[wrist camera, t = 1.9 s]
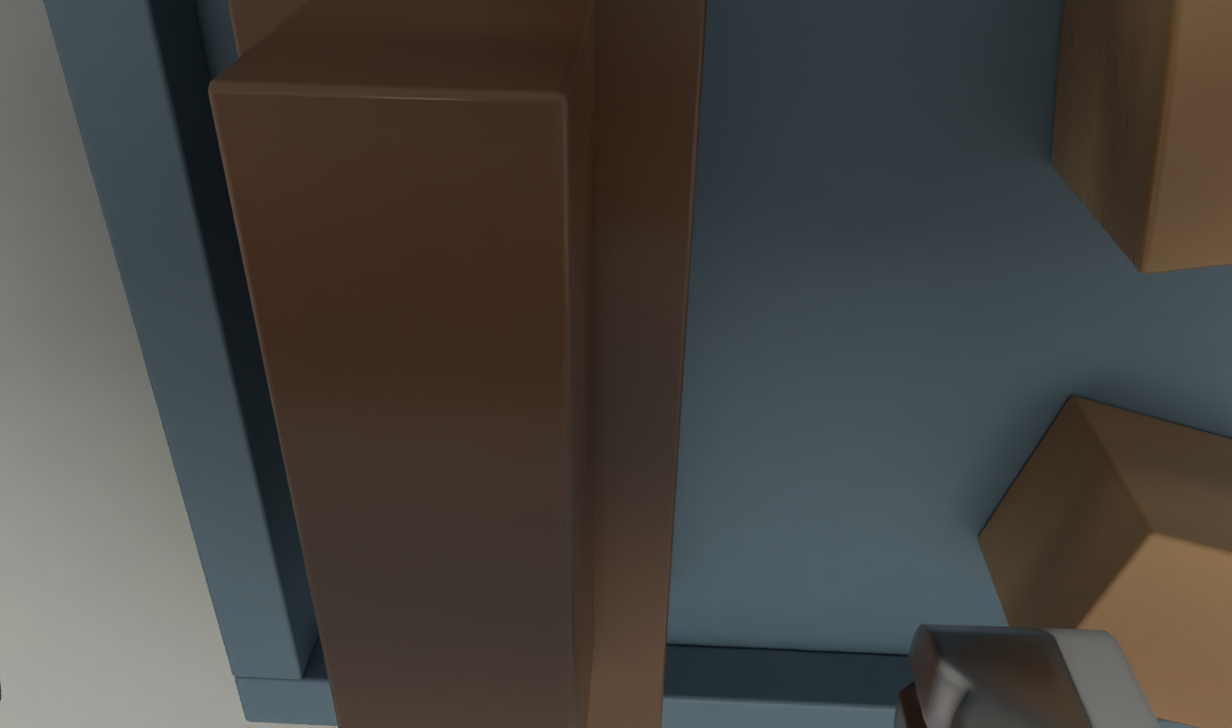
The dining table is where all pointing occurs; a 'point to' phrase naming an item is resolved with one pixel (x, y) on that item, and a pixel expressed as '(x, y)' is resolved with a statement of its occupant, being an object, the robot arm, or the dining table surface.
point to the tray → (719, 338)
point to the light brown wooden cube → (1149, 126)
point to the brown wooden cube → (1127, 550)
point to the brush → (474, 338)
